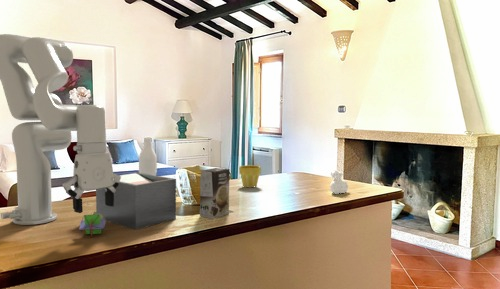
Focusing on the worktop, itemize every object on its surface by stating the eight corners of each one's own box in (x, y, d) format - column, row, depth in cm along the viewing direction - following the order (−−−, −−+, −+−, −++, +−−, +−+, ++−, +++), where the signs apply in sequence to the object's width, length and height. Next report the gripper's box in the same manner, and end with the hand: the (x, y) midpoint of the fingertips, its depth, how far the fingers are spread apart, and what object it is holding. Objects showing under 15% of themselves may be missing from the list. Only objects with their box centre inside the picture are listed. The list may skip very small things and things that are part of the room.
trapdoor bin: (135, 229, 118) (135, 185, 117) (96, 217, 130) (95, 177, 129) (175, 218, 131) (175, 178, 130) (136, 208, 143) (136, 172, 142)
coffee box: (214, 219, 131) (214, 171, 130) (199, 216, 134) (199, 170, 133) (229, 213, 139) (230, 168, 137) (215, 211, 142) (215, 167, 141)
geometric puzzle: (102, 233, 108) (104, 206, 112) (75, 234, 106) (79, 206, 111) (105, 241, 114) (107, 215, 118) (80, 242, 112) (83, 216, 116)
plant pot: (236, 188, 186) (236, 167, 185) (241, 184, 196) (242, 164, 195) (257, 189, 183) (258, 168, 183) (262, 185, 194) (262, 165, 193)
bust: (344, 195, 183) (332, 175, 187) (356, 188, 178) (343, 166, 183) (330, 199, 175) (317, 177, 179) (342, 191, 170) (329, 169, 174)
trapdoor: (128, 195, 122) (128, 191, 122) (102, 180, 130) (103, 177, 130) (160, 188, 132) (161, 185, 132) (135, 175, 140) (135, 173, 140)
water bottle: (160, 198, 160) (160, 137, 158) (150, 202, 153) (150, 138, 151) (145, 197, 162) (145, 137, 160) (135, 200, 156) (134, 138, 154)
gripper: (69, 151, 101) (72, 217, 102) (126, 147, 115) (128, 204, 116) (54, 150, 105) (57, 213, 107) (111, 146, 119) (113, 201, 120)
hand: (94, 208), depth 111 cm, fingers open, 9 cm apart
